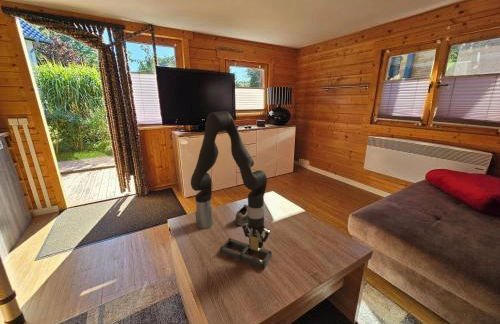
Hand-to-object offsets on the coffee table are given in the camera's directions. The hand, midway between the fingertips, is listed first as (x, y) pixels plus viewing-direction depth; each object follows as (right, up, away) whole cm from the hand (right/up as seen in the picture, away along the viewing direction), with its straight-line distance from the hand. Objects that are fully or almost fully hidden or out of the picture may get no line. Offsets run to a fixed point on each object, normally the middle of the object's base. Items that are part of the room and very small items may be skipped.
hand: (256, 245), depth 101 cm
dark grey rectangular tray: (-5, -6, +5) cm, 9 cm away
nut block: (0, -1, 0) cm, 1 cm away
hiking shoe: (-4, +3, +37) cm, 37 cm away
